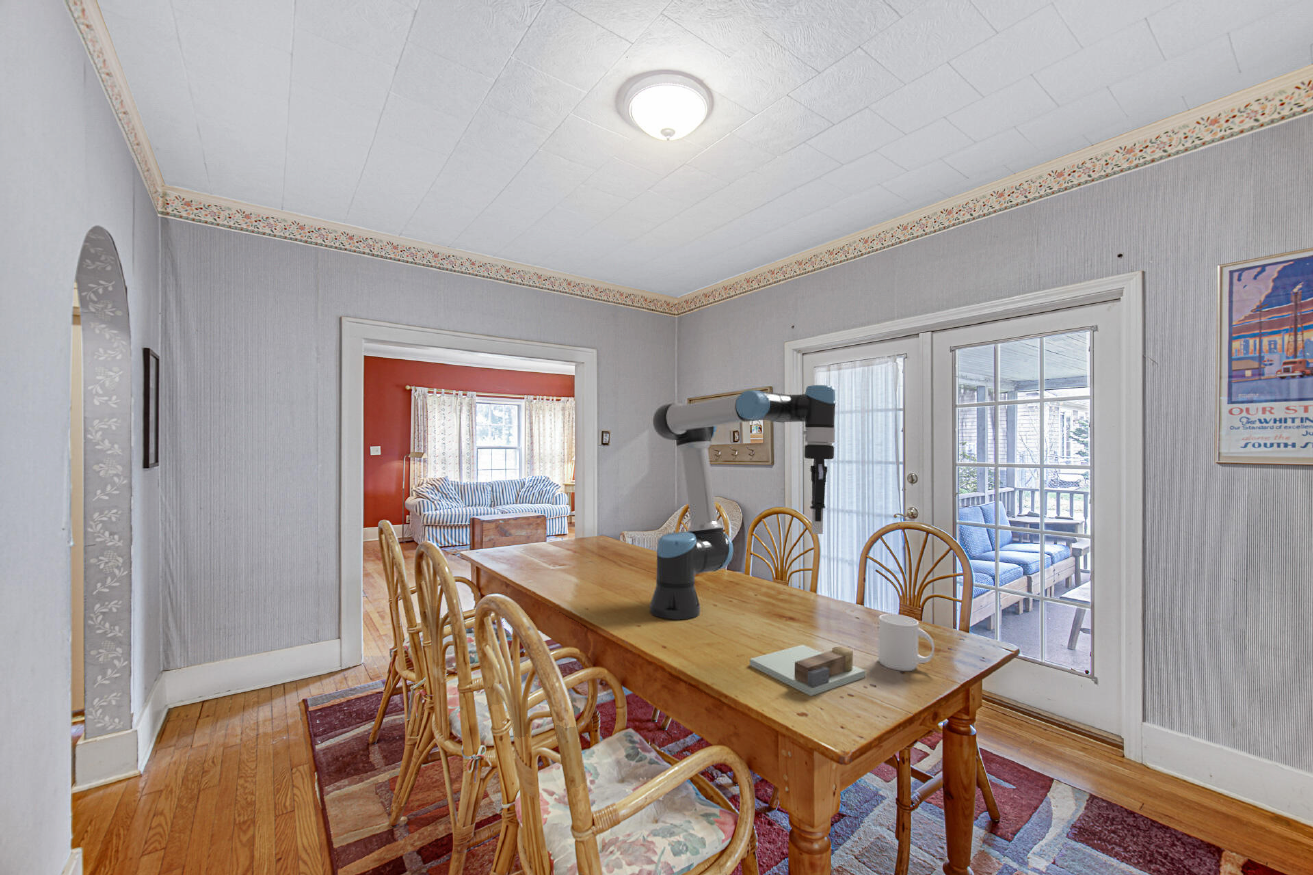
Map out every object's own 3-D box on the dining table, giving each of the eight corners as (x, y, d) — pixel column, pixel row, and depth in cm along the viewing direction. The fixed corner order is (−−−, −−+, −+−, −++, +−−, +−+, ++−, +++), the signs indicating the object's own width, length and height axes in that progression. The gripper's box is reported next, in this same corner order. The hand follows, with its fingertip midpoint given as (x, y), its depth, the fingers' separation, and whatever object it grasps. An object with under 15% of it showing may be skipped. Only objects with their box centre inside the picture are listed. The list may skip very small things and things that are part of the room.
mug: (932, 678, 123) (933, 630, 123) (875, 666, 130) (876, 620, 130) (935, 665, 131) (936, 620, 131) (881, 654, 137) (882, 611, 137)
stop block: (807, 685, 115) (807, 671, 115) (823, 680, 117) (823, 666, 117) (812, 688, 114) (813, 673, 114) (828, 682, 116) (828, 668, 116)
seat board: (749, 665, 128) (749, 658, 128) (802, 650, 138) (802, 644, 138) (810, 695, 113) (811, 688, 113) (865, 677, 123) (865, 670, 123)
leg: (809, 685, 114) (809, 667, 114) (792, 677, 118) (793, 659, 118) (856, 668, 124) (856, 651, 124) (839, 661, 127) (840, 645, 127)
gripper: (803, 443, 153) (800, 528, 152) (806, 443, 140) (804, 536, 140) (831, 444, 151) (829, 530, 151) (837, 444, 138) (835, 538, 138)
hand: (817, 533), depth 145 cm, fingers closed
